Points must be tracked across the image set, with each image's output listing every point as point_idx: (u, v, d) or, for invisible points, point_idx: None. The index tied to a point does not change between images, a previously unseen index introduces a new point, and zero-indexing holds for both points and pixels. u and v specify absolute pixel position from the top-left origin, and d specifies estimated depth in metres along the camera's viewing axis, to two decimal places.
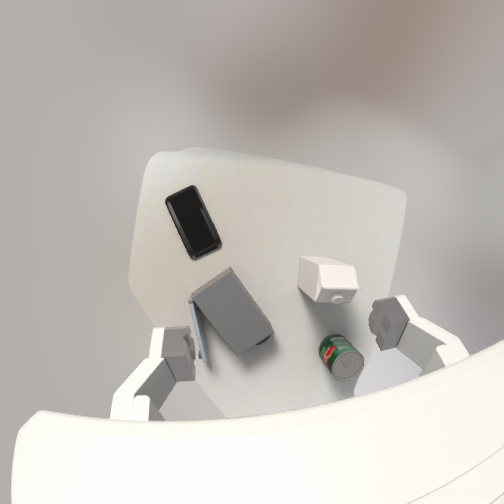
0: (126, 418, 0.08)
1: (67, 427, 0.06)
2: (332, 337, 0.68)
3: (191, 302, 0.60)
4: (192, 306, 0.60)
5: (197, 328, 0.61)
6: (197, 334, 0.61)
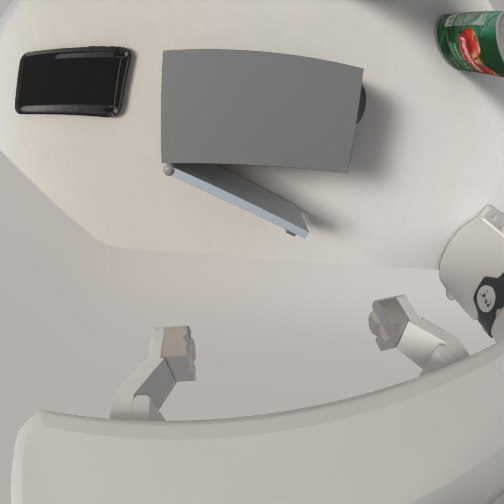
0: (126, 418, 0.08)
1: (67, 427, 0.06)
2: (444, 22, 0.19)
3: (171, 169, 0.24)
4: (181, 173, 0.24)
5: (232, 197, 0.26)
6: (243, 206, 0.26)
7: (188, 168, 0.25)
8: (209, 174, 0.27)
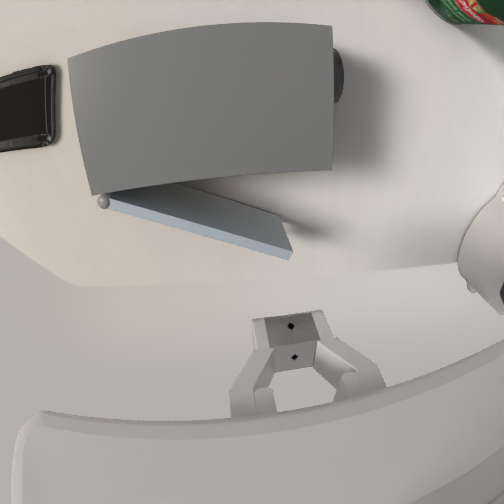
0: (251, 414, 0.08)
1: (67, 427, 0.06)
2: None
3: (106, 201, 0.18)
4: (118, 204, 0.19)
5: (185, 223, 0.20)
6: (201, 232, 0.21)
7: (129, 194, 0.20)
8: (157, 196, 0.21)
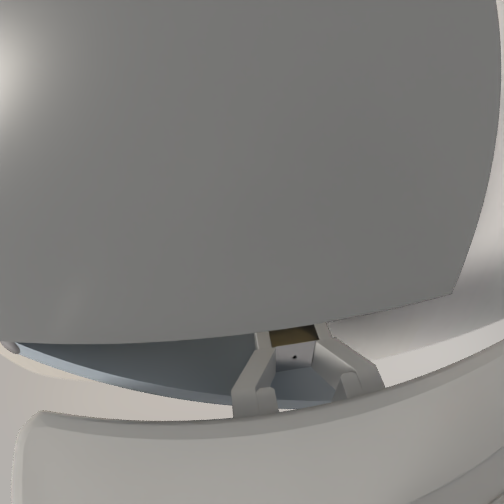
0: (253, 414, 0.08)
1: (67, 427, 0.06)
2: None
3: (12, 344, 0.08)
4: (32, 352, 0.08)
5: (158, 387, 0.09)
6: (190, 398, 0.10)
7: None
8: None
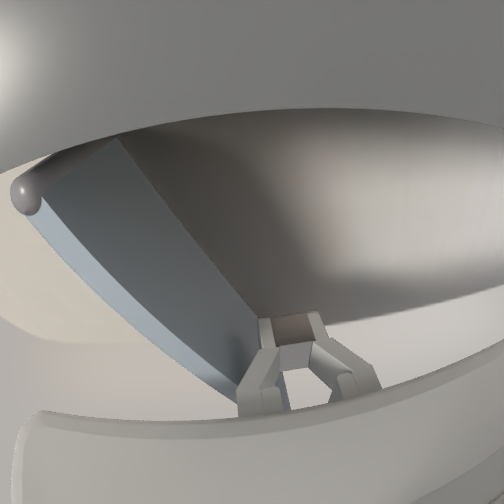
0: (258, 413, 0.08)
1: (67, 427, 0.06)
2: None
3: (32, 198, 0.05)
4: (57, 227, 0.06)
5: (182, 349, 0.08)
6: (198, 372, 0.09)
7: (92, 207, 0.07)
8: (144, 243, 0.09)
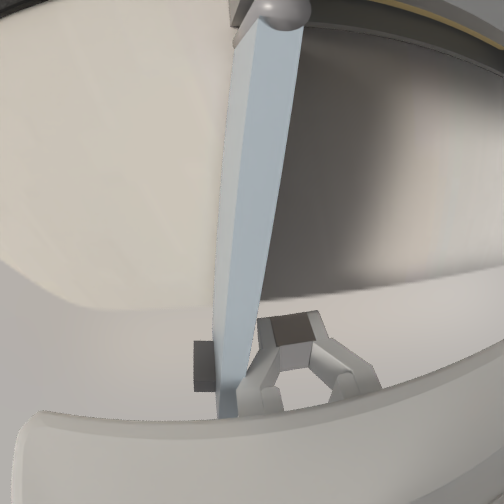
0: (258, 413, 0.08)
1: (67, 427, 0.06)
2: None
3: (290, 16, 0.04)
4: (284, 63, 0.04)
5: (251, 289, 0.07)
6: (232, 326, 0.08)
7: None
8: None
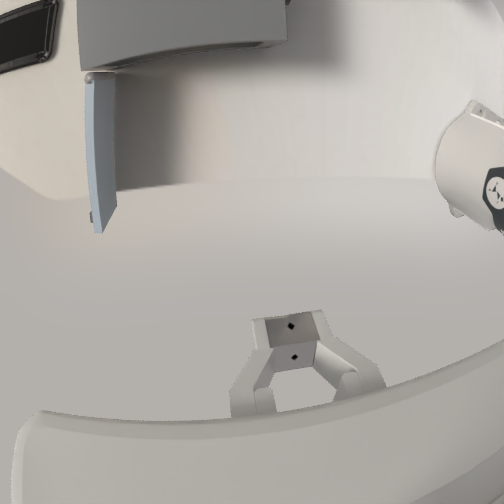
0: (251, 414, 0.08)
1: (67, 427, 0.06)
2: None
3: (91, 80, 0.17)
4: (91, 91, 0.18)
5: (91, 148, 0.21)
6: (88, 163, 0.21)
7: (99, 93, 0.19)
8: (102, 115, 0.21)
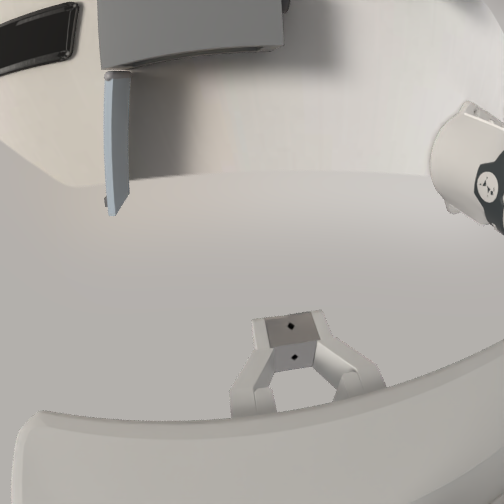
0: (251, 414, 0.08)
1: (67, 427, 0.06)
2: None
3: (110, 77, 0.20)
4: (110, 87, 0.21)
5: (109, 138, 0.24)
6: (105, 151, 0.24)
7: (117, 90, 0.22)
8: (119, 109, 0.24)
